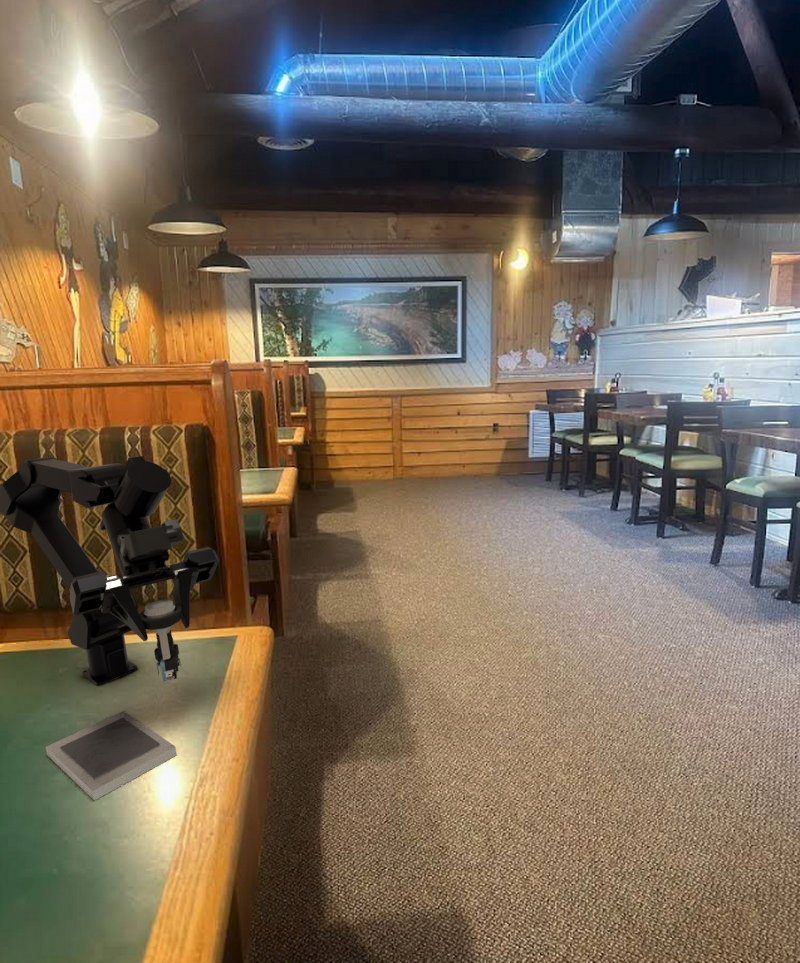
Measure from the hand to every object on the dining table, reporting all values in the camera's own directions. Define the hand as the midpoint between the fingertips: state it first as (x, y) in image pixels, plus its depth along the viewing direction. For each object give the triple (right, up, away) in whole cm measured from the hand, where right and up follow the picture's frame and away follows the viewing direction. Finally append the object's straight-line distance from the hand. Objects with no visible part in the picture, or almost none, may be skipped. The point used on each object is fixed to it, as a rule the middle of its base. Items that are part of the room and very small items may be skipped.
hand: (167, 633), depth 79 cm
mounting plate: (-6, -14, -4) cm, 16 cm away
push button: (0, -7, +2) cm, 7 cm away
